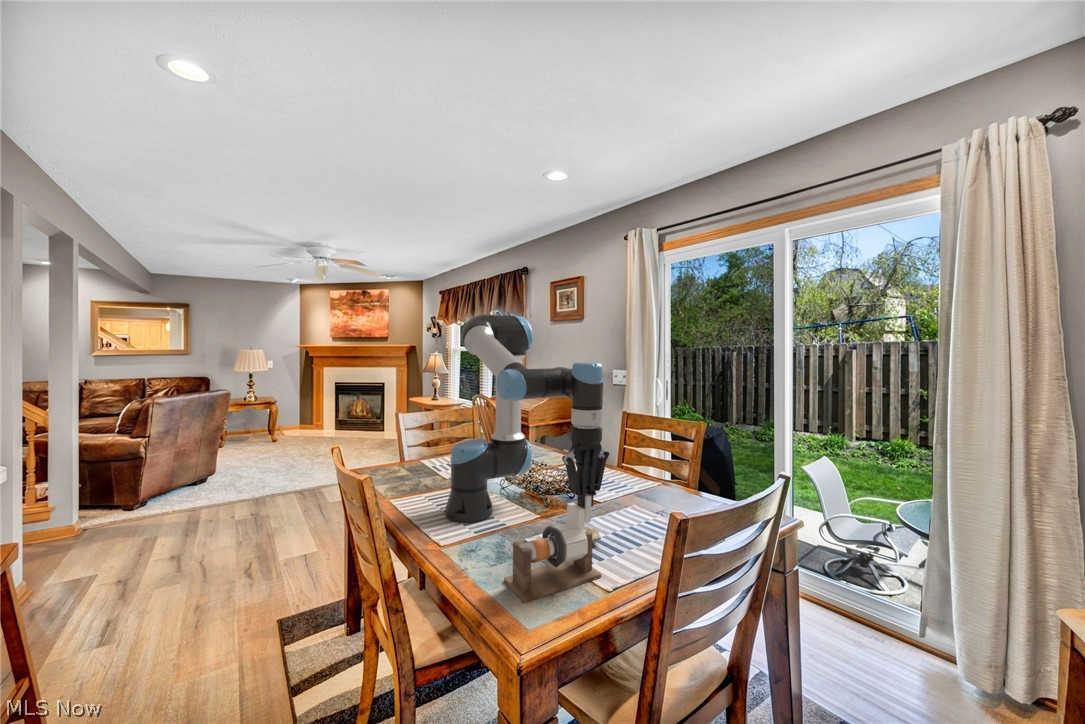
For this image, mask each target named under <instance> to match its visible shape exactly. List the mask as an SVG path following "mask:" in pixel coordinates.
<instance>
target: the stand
mask: <svg viewBox="0 0 1085 724" xmlns="http://www.w3.org/2000/svg"><path fill="white" fill-rule="evenodd" d="M584 529H585V528H584ZM585 530H586V532H585V534H586V536H587V540H588V552H587V554H586V555H585V556H584V557H583V558H581V559H577V560H574V561H570V562H567V563H564V564H560V565H559V566H558V567H554V566H553V565H552V564H551V563H550V564H546V565H542V566H539V567H536V568H532V563H531V549H530V548H529V547H524V548H521V547H520V546H519V545H520V544H523V543H524V542H523V541H522V540H519V541H515V542H512V574H511V575H508V576H505V577H503V581H504V582H505V583H506V585H507V586H508V587H509V588H510V589H511V590H512V591H513V592H514V594H515V595H517V596H518V598H519V599H520V600H521V601H522V602H523V604H526V603H527V602H531V601H534V600H537V599H539V598H544V597H546V596H548V595H551V594H555V593H559V592H561V591H564V590H568V589H570V588H574V587H576V586H579V585H582V584H585V583H588V582H591V581H594V580H593V579H595V578H598V579H600V578H599V577H601V578H602V573H601V572H600V571H598V570H597V569H596V568H595V567H593V542H592V534H593V533H591V532H590V531H588V530H587V529H585ZM595 580H596V579H595Z"/></svg>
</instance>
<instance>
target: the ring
mask: <svg viewBox="0 0 1085 724" xmlns="http://www.w3.org/2000/svg"><path fill="white" fill-rule="evenodd" d="M550 533H551V534H552V535H554V537H555V539H556V542H557V545H558V558H557V559H555V558H553V557H550V558H548V559H546V560H547V561H548V563H550V564H552V565H553V566H554V567H558V566H559V565H560V564H561V563H562V562H563V561H564V543H563V541H562V538H561V536H560V533H559V531H557V530H556V529H555V528H553V526H552V525H547V527H546V528H545V529H544V530H543V532H542V533H541V534H542V535H541V536H542V537H541V538H547V537H549V534H550Z"/></svg>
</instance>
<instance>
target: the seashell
mask: <svg viewBox="0 0 1085 724" xmlns="http://www.w3.org/2000/svg"><path fill="white" fill-rule="evenodd" d="M583 528H585V529H587V530H588V531H590V532H591V533H593V534H592V543H593V542H594V541H601V540H602V537H601V535H600V533H599V530H598V528H591V527H589V526H586V525H584V527H583Z"/></svg>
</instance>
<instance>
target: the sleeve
mask: <svg viewBox="0 0 1085 724" xmlns="http://www.w3.org/2000/svg"><path fill="white" fill-rule="evenodd" d="M584 512H585V509H583V508H581V507H580V506H578V504H576V503H575V502H569V503H567V504H566V522H567V523H562V524H558V525H553V526H552V527H553V528H555V529H556V530H557V531H559V533H560V535H561V538H562V541H563V543H564V561H563V562H562V563H561V564H564V563H567V562H570V561H574V560H577V559H581V558H583V557H584V556H585V555H586V554H587V552H588V540H587V536H586V534H585V531H584V529H583V527H584V526H585V522H584ZM551 536H554V535H552V534H551V533H550V534H549V535H548V537H551ZM553 558H555V559H557V558H558V556H554V557H553Z"/></svg>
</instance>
